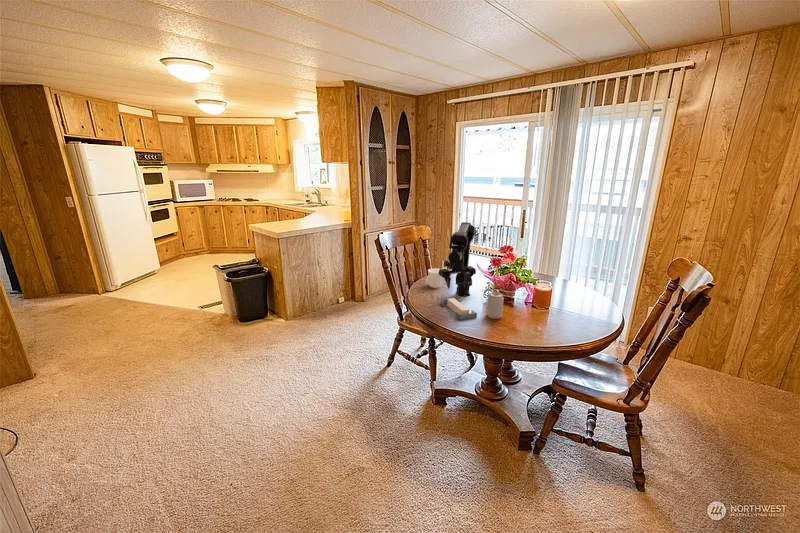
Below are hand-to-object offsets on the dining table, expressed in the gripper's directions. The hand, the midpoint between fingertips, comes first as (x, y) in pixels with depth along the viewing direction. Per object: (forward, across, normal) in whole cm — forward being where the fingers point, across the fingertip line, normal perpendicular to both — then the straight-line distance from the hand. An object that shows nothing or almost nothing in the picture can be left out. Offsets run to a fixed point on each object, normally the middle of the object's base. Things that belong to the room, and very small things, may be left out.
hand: (456, 287), depth 172 cm
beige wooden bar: (+12, 0, +3) cm, 12 cm away
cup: (+12, -5, -36) cm, 38 cm away
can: (+12, -13, +15) cm, 24 cm away
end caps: (+12, 0, +3) cm, 12 cm away
